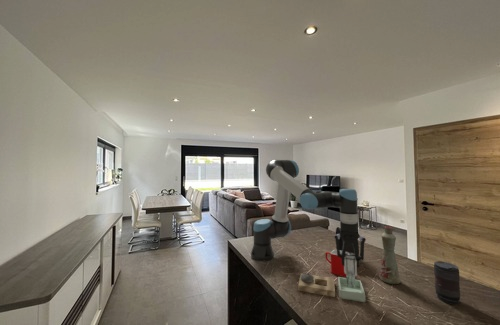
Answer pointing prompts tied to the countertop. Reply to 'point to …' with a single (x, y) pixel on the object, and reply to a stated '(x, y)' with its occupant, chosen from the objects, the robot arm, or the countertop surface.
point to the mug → (336, 263)
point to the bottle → (389, 258)
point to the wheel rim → (349, 245)
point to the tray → (351, 290)
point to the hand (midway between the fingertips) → (350, 273)
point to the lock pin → (350, 269)
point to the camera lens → (447, 282)
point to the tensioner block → (311, 281)
